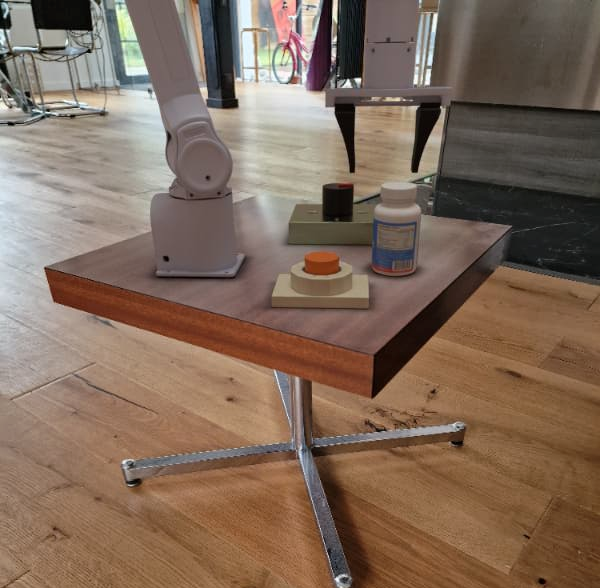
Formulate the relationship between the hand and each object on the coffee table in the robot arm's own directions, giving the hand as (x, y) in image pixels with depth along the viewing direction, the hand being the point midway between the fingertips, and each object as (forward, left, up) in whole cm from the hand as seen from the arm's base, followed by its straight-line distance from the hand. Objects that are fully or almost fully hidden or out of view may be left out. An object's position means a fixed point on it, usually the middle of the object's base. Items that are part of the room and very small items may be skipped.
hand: (383, 171), depth 71 cm
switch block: (-7, -18, -10) cm, 21 cm away
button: (-7, -18, -7) cm, 20 cm away
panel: (-6, +7, -10) cm, 14 cm away
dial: (-6, +7, -7) cm, 12 cm away
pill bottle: (+2, -9, -10) cm, 13 cm away
